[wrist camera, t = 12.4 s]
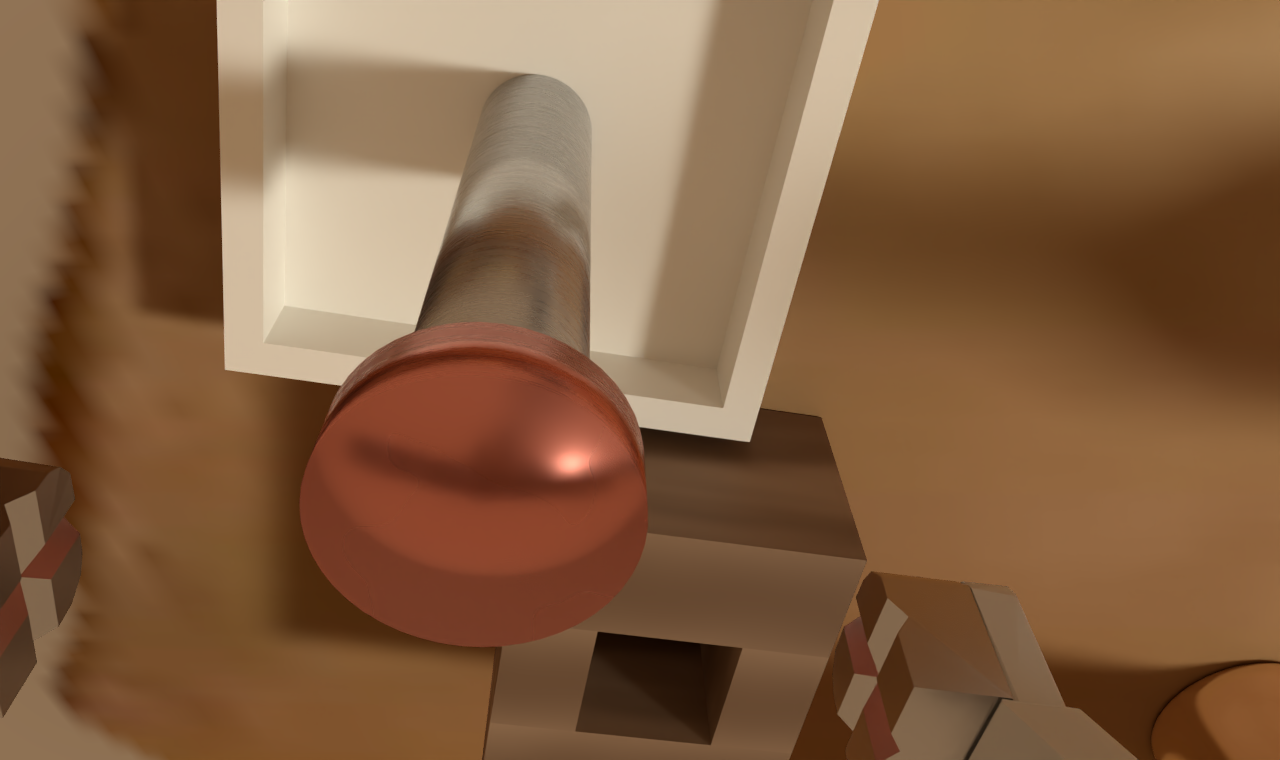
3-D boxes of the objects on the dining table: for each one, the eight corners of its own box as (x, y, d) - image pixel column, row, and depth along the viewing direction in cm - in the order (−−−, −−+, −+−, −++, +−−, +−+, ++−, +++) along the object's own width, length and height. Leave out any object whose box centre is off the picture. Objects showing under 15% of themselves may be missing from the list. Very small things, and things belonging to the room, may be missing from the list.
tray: (251, -253, 21) (210, -252, 18) (880, -122, 22) (910, -107, 20) (254, 320, 27) (225, 370, 25) (739, 390, 29) (749, 442, 27)
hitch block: (538, 377, 28) (523, 517, 23) (821, 417, 29) (866, 560, 24) (496, 639, 34) (476, 802, 28) (738, 666, 34) (762, 828, 29)
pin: (457, 28, 23) (302, 351, 11) (635, 59, 23) (679, 403, 11) (441, 197, 25) (296, 628, 13) (606, 223, 25) (616, 662, 13)
